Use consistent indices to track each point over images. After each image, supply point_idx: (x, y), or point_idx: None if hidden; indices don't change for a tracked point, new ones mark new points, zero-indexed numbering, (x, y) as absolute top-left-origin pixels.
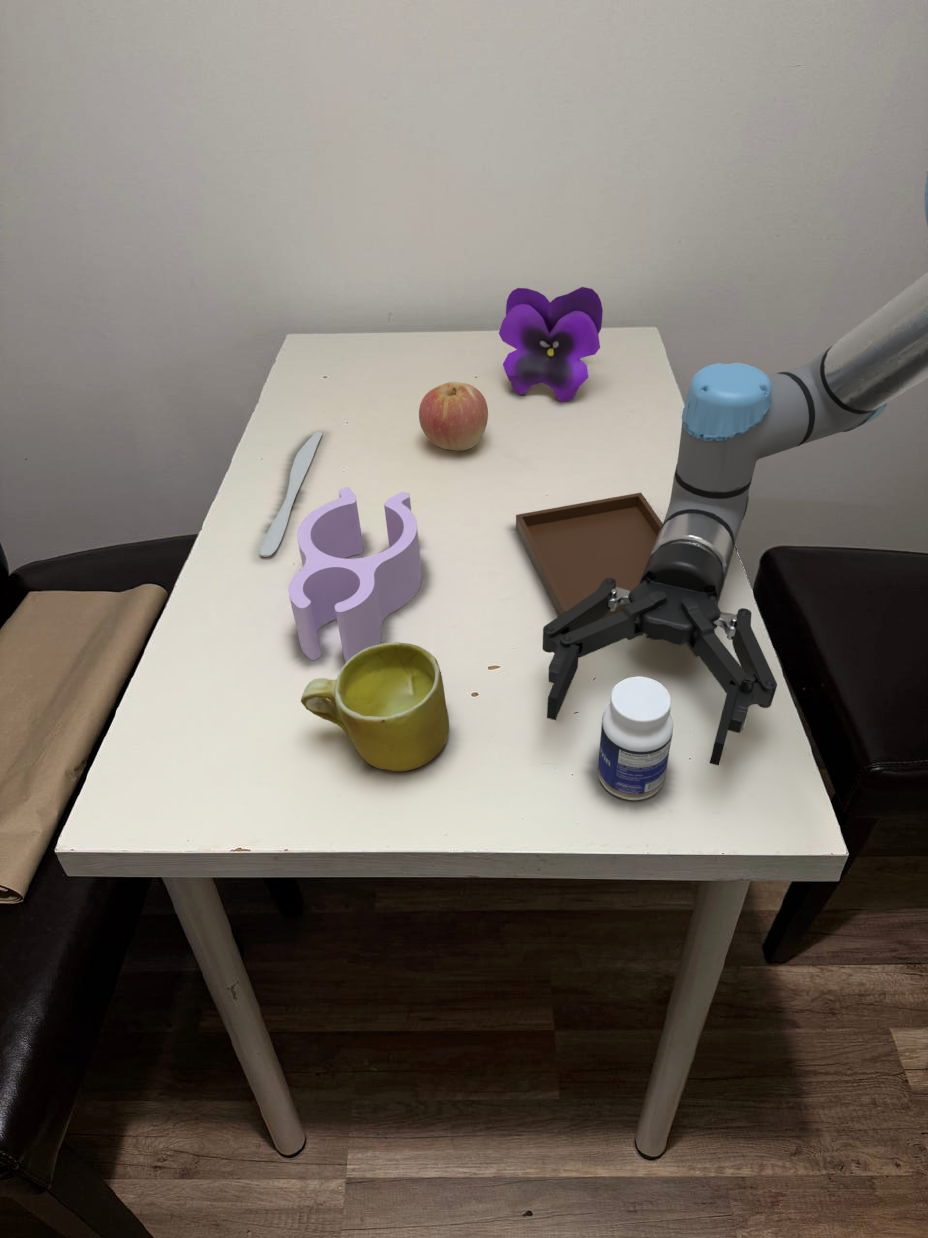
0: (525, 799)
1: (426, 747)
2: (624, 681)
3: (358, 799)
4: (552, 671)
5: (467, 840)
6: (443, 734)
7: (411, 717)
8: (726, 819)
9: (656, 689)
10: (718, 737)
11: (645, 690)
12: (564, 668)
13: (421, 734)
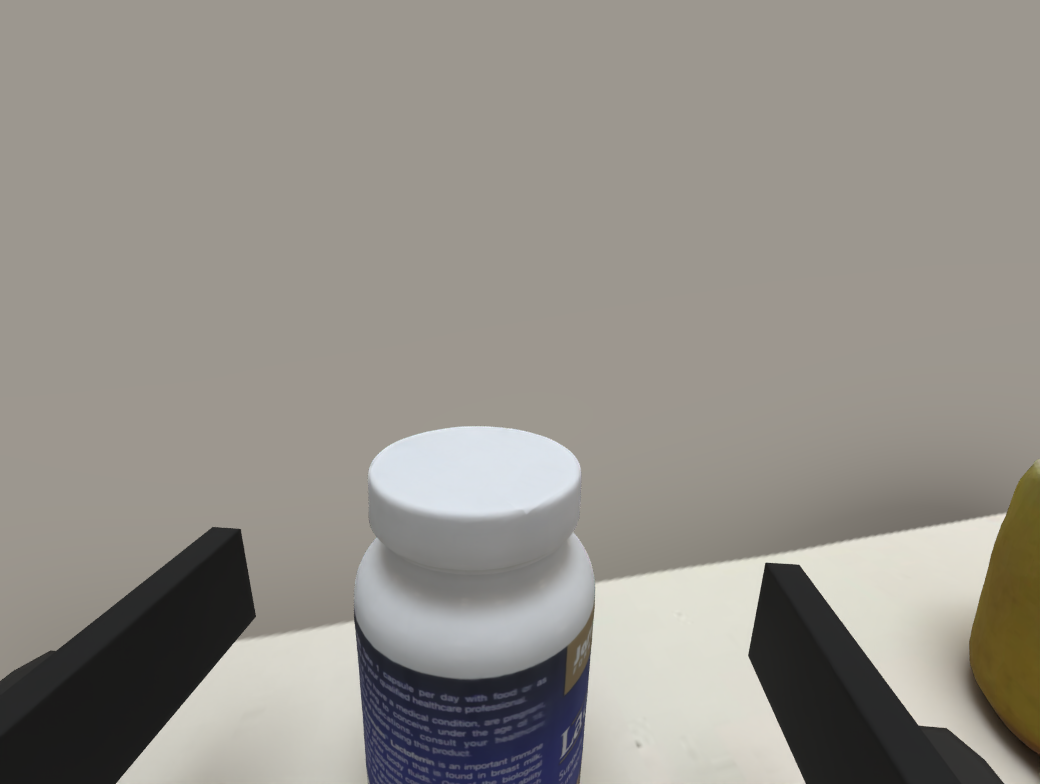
0: (702, 651)
1: (982, 608)
2: (549, 492)
3: (973, 591)
4: (932, 732)
5: (737, 566)
6: (1018, 679)
7: (1026, 483)
8: (232, 700)
9: (419, 482)
10: (218, 542)
11: (462, 477)
12: (879, 700)
13: (998, 554)
